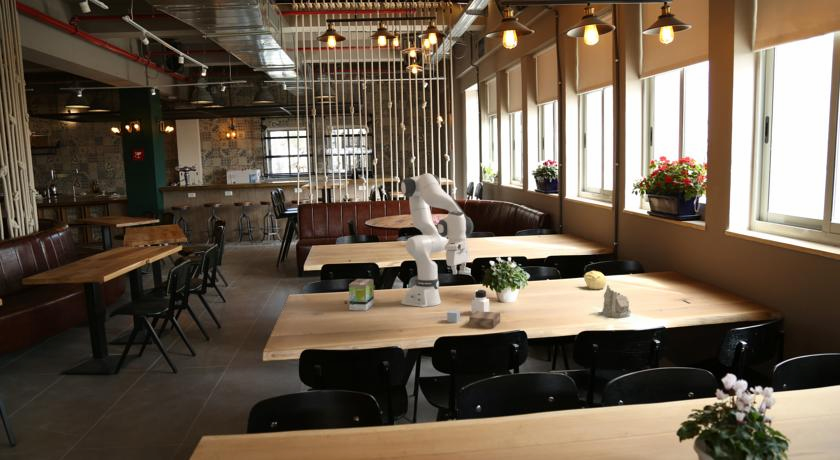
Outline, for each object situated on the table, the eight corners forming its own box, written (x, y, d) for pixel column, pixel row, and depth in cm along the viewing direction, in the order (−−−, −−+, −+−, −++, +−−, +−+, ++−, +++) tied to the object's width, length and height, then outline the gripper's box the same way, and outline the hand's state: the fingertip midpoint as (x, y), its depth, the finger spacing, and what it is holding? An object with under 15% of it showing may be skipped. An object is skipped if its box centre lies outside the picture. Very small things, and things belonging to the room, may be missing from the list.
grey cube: (447, 322, 304) (447, 312, 303) (450, 319, 309) (450, 310, 308) (456, 323, 302) (456, 313, 301) (460, 320, 307) (459, 310, 306)
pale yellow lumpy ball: (581, 287, 370) (581, 270, 369) (596, 285, 375) (596, 268, 374) (593, 291, 360) (594, 273, 359) (609, 289, 365) (609, 271, 364)
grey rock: (614, 318, 301) (616, 288, 300) (596, 311, 317) (597, 283, 316) (641, 317, 305) (643, 287, 304) (622, 310, 321) (623, 282, 320)
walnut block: (469, 327, 295) (469, 317, 295) (477, 320, 306) (476, 310, 306) (493, 329, 291) (493, 319, 290) (500, 322, 302) (500, 312, 301)
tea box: (367, 311, 330) (365, 284, 328) (349, 310, 332) (348, 284, 330) (374, 304, 344) (373, 278, 342) (357, 303, 346) (356, 278, 344)
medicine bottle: (489, 312, 321) (489, 289, 319) (483, 315, 315) (483, 292, 313) (477, 310, 324) (476, 288, 323) (471, 313, 318) (471, 291, 317)
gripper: (460, 242, 309) (461, 269, 310) (443, 246, 291) (444, 275, 292) (471, 242, 306) (473, 270, 307) (455, 246, 288) (456, 275, 289)
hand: (459, 272), depth 299 cm, fingers open, 8 cm apart
